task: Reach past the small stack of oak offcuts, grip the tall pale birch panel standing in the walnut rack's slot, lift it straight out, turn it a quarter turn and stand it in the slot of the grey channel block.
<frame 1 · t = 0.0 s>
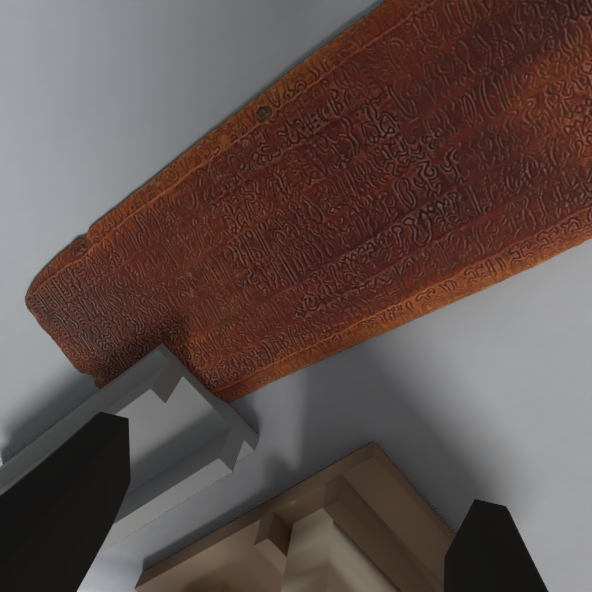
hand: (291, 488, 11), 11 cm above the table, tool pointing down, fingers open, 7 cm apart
walnut rack: (324, 591, 27), on the table
birch panel: (381, 583, 25), point 1 cm above the table, touching walnut rack
grey channel block: (123, 451, 25), on the table
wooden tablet: (332, 209, 20), on the table
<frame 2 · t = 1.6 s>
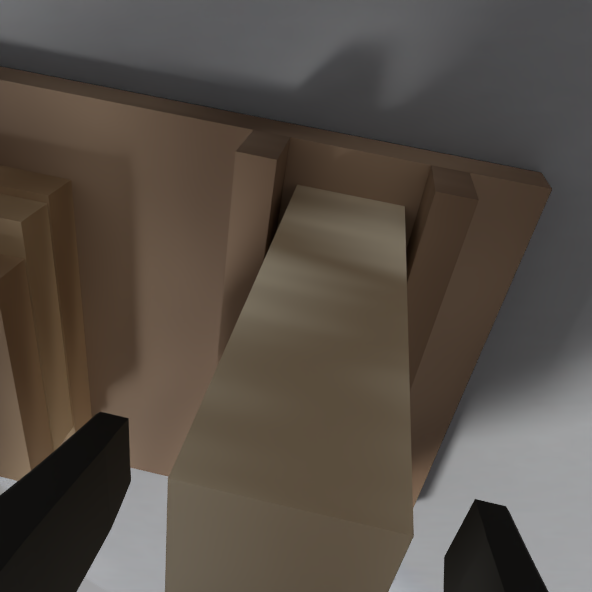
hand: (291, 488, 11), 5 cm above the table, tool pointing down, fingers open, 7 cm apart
offcut stack: (22, 302, 15), resting on walnut rack
walnut rack: (199, 318, 16), on the table
birch panel: (313, 366, 15), point 1 cm above the table, touching walnut rack
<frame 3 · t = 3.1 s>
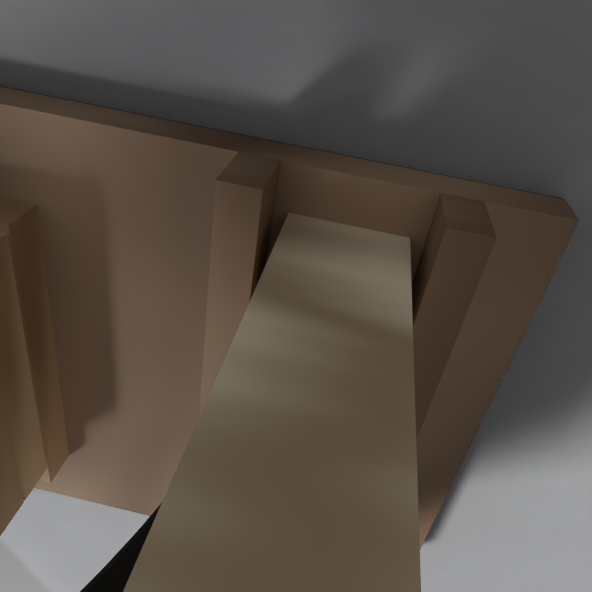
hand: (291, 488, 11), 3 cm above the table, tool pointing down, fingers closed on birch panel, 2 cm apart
walnut rack: (184, 351, 14), on the table
birch panel: (308, 407, 13), point 1 cm above the table, touching gripper, walnut rack
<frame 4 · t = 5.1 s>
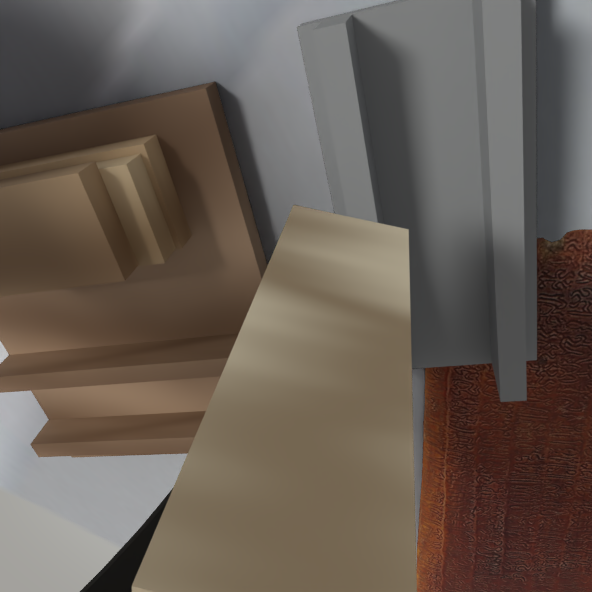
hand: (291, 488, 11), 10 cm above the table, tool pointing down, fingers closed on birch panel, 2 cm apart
offcut stack: (70, 205, 19), resting on walnut rack
walnut rack: (132, 304, 22), on the table
birch panel: (310, 392, 14), point 7 cm above the table, touching gripper
grey channel block: (431, 203, 18), on the table
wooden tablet: (530, 487, 25), on the table
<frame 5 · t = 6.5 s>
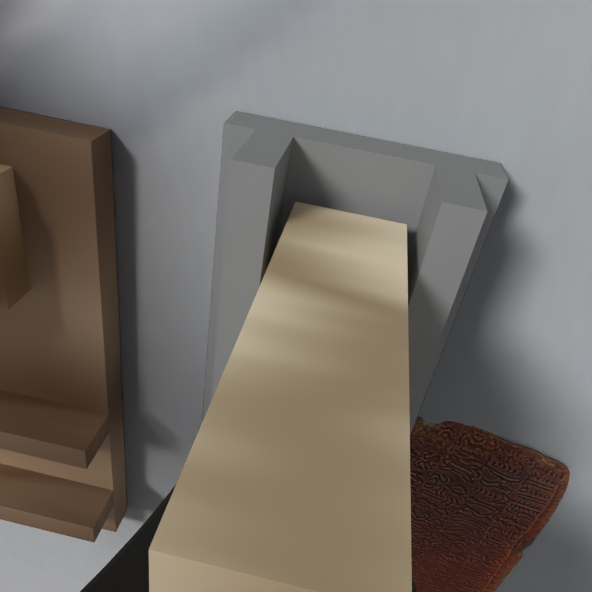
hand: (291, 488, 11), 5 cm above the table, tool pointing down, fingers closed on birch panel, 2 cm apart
birch panel: (312, 384, 14), point 1 cm above the table, touching gripper
grey channel block: (320, 345, 15), on the table
when the fingers open (4 cm above the table, at t = 7.3 s): birch panel stays where it is, resting on grey channel block.
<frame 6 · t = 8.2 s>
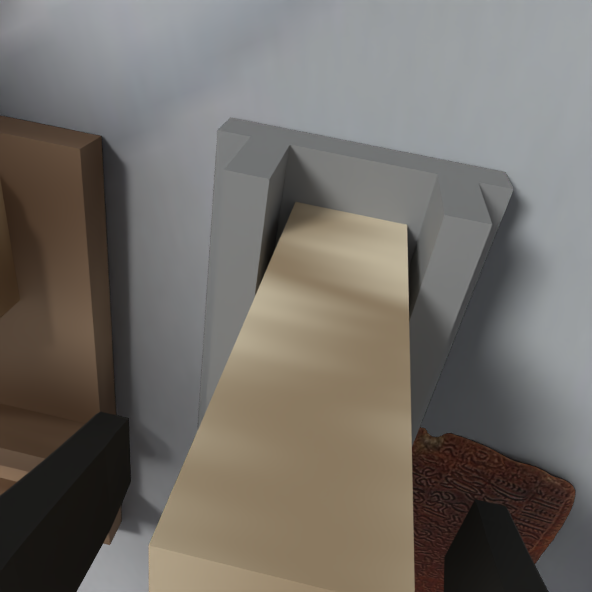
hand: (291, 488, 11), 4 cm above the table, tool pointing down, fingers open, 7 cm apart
birch panel: (312, 386, 14), point 1 cm above the table, touching grey channel block
grey channel block: (318, 357, 15), on the table
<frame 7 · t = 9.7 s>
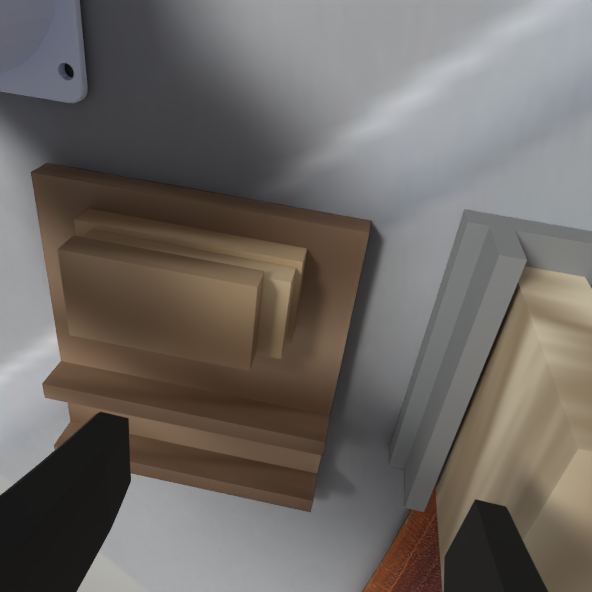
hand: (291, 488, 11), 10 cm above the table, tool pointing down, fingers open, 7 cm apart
offcut stack: (195, 270, 20), resting on walnut rack
walnut rack: (200, 352, 23), on the table
birch panel: (498, 382, 21), point 1 cm above the table, touching grey channel block
grey channel block: (496, 362, 21), on the table
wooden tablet: (465, 570, 30), on the table
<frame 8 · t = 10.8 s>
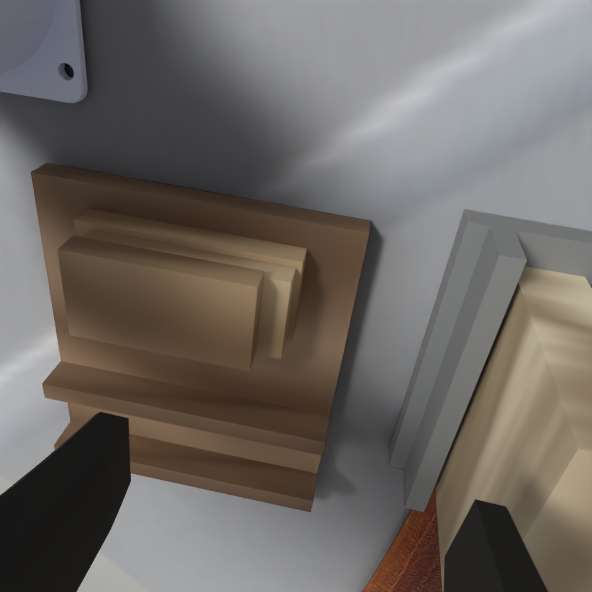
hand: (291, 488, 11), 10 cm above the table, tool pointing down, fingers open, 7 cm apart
offcut stack: (195, 270, 20), resting on walnut rack
walnut rack: (200, 352, 23), on the table
birch panel: (498, 382, 21), point 1 cm above the table, touching grey channel block
grey channel block: (496, 362, 21), on the table
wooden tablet: (465, 570, 30), on the table
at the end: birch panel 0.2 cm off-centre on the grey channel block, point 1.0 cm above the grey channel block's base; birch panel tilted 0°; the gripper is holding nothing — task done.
